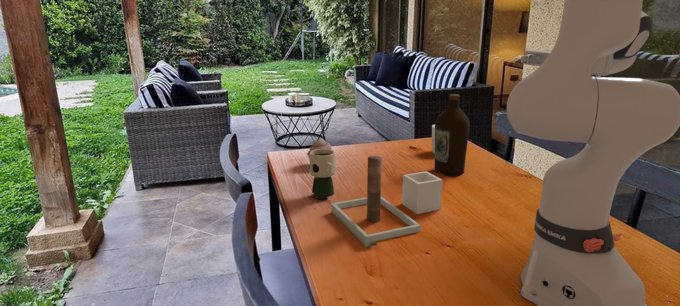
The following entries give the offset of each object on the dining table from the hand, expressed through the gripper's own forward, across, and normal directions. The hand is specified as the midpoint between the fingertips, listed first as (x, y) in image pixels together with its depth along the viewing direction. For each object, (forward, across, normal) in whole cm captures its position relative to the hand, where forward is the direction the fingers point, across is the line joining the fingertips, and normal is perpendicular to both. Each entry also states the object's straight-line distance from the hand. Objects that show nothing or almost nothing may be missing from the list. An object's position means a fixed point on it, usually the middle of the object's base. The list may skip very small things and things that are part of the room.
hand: (537, 61), depth 107 cm
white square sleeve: (+24, -10, +38) cm, 46 cm away
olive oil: (-1, -32, +38) cm, 50 cm away
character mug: (+44, -29, +38) cm, 65 cm away
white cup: (-11, -50, +38) cm, 64 cm away
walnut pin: (+39, -8, +37) cm, 55 cm away
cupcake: (+35, -54, +38) cm, 75 cm away
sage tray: (+39, -8, +38) cm, 55 cm away
